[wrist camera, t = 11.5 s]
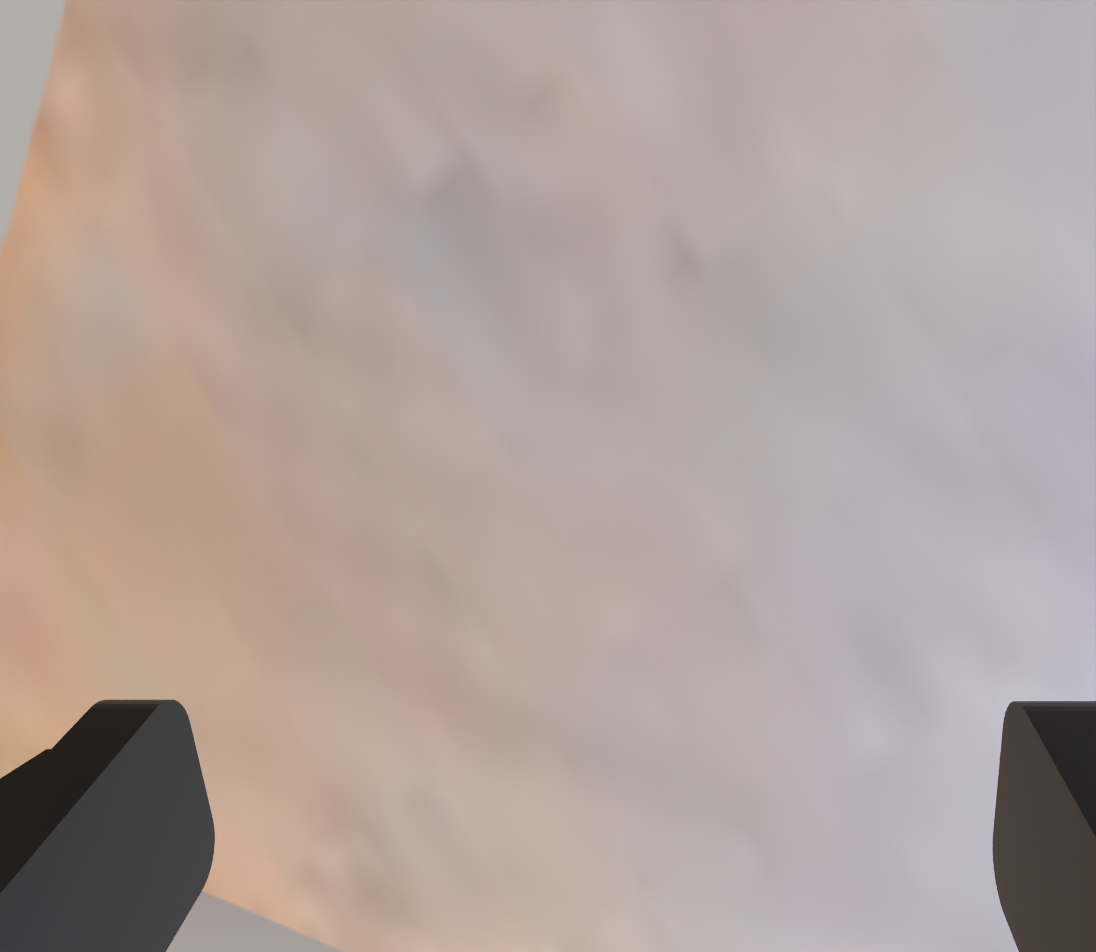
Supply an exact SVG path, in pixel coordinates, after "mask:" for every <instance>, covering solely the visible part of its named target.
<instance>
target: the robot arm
mask: <svg viewBox="0 0 1096 952" xmlns="http://www.w3.org/2000/svg"><path fill="white" fill-rule="evenodd" d="M214 843H215V833H214V824H213V818H212V814H211V810H210V805H209V801H208V797H207V793H206V788H205V784H204V780H203V776H202V771H201V767H200V763H199V759H198V754H197V750H196V746H195V742H194V738H193V733H192V729H191V725H190V721H189V718H188V715H187V713H186V710H185V709H184V707H183V706H182V705H181V704H180V703H179V702H177V701H175V700H103V701H99V702H98V703H96V704H94V705H93V706H92V707H91V708H90V709H89V710H88V711H87V712H86V713H85V714H84V715H83V716H82V717H81V718H80V719H79V721H78V722H77V723H76V724H75V725H74V726H73V727H72V728H71V729H70V730H69V731H68V732H67V733H66V734H65V735H64V736H63V737H62V738H61V740H60V741H59V742H58V743H57V744H56V745H55V746H54V747H53V748H52V749H46V750H45V751H43V752H41V753H40V754H38V755H37V756H35V757H34V758H32V759H30V760H29V761H27V762H26V763H24V764H23V765H21V766H19V767H18V768H16V769H15V770H13V771H12V772H10V773H8V774H7V775H5V776H4V777H2V778H1V779H0V952H166V950H167V948H168V947H169V945H170V943H171V942H172V940H173V938H174V936H175V935H176V933H177V931H178V930H179V928H180V926H181V925H182V923H183V921H184V920H185V918H186V916H187V914H188V913H189V911H190V910H191V908H192V906H193V905H194V903H195V901H196V900H197V898H198V896H199V894H200V893H201V891H202V889H203V887H204V885H205V883H206V881H207V878H208V875H209V872H210V869H211V864H212V860H213V854H214ZM993 863H994V872H995V879H996V885H997V890H998V894H999V899H1000V902H1001V906H1002V909H1003V912H1004V915H1005V917H1006V920H1007V922H1008V925H1009V927H1010V930H1011V933H1012V935H1013V938H1014V940H1015V943H1016V945H1017V948H1018V950H1019V952H1096V701H1015V702H1012V703H1010V704H1009V706H1008V707H1007V710H1006V713H1005V717H1004V723H1003V733H1002V744H1001V755H1000V766H999V777H998V787H997V798H996V809H995V820H994V831H993Z"/></svg>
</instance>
